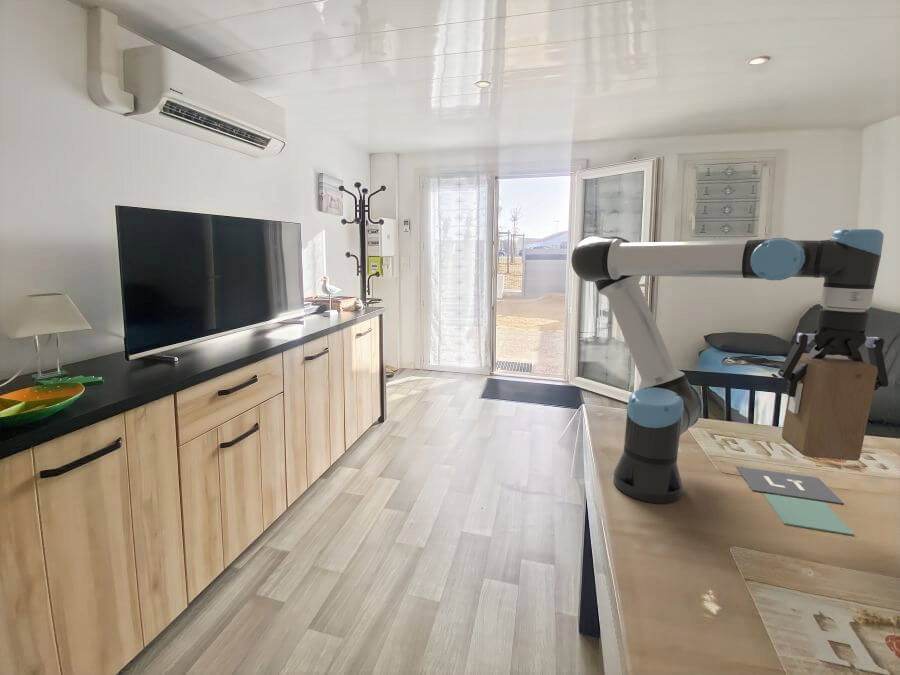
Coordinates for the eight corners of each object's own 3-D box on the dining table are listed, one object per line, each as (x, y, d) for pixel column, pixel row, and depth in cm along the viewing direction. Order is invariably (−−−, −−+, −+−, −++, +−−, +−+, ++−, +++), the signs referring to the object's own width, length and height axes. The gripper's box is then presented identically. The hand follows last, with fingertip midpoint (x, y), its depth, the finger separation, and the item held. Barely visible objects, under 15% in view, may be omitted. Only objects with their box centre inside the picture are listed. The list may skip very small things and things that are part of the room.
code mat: (751, 490, 105) (752, 489, 105) (736, 467, 116) (736, 466, 116) (843, 504, 99) (843, 502, 99) (817, 478, 111) (818, 477, 111)
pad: (784, 524, 92) (784, 522, 92) (763, 494, 103) (763, 493, 103) (854, 535, 88) (854, 534, 88) (824, 503, 100) (824, 502, 100)
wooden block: (861, 463, 87) (881, 366, 83) (804, 458, 89) (821, 363, 85) (829, 442, 97) (846, 354, 93) (778, 438, 99) (793, 351, 95)
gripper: (783, 308, 87) (767, 414, 91) (931, 314, 80) (905, 428, 84) (769, 304, 94) (754, 402, 98) (903, 309, 87) (881, 414, 91)
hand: (824, 414), depth 91 cm, fingers closed on wooden block, 10 cm apart
